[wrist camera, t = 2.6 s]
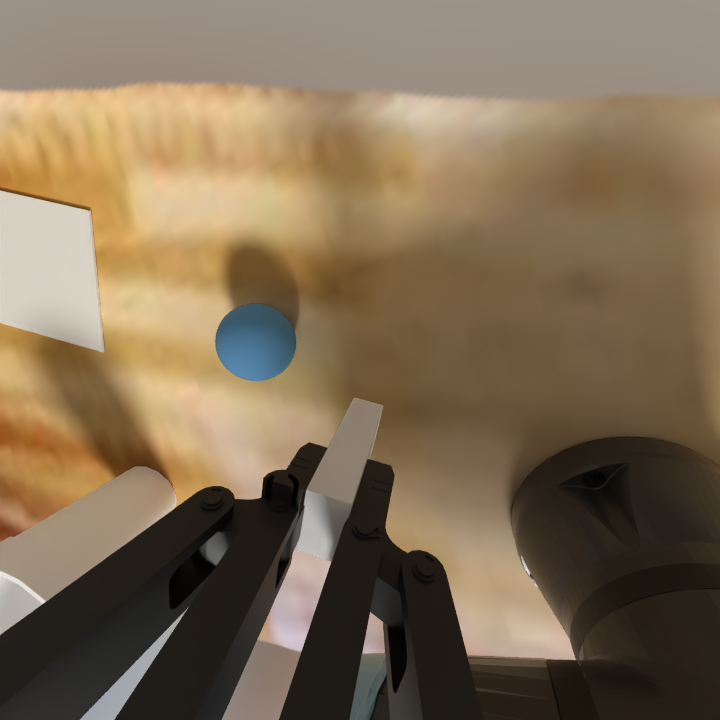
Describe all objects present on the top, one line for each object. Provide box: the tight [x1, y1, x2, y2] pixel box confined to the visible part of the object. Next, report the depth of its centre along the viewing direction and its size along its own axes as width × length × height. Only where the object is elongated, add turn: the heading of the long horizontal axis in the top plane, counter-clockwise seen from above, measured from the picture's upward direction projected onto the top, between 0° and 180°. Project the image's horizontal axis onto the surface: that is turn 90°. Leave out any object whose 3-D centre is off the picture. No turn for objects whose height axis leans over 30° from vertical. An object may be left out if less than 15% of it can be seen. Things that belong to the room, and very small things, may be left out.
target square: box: [0, 190, 105, 352], centre depth 30 cm, size 12×12×1 cm
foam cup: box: [0, 466, 177, 635], centre depth 31 cm, size 10×9×13 cm
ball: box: [215, 303, 296, 381], centre depth 25 cm, size 6×6×6 cm
